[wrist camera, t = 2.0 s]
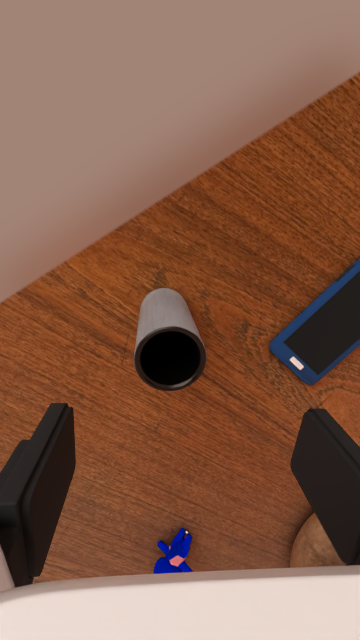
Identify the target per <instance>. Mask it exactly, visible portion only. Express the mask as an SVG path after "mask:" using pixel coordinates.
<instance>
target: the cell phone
mask: <svg viewBox="0 0 360 640" xmlns="http://www.w3.org/2000/svg"><path fill="white" fill-rule="evenodd" d="M359 345H360V258H359V259H358V260H357V261H356V262H355V263H354V264H353V265H351V266H350V267H349V268H348V269H347V270H346V271H345V272H344V273H343V274H342V275H341V276H340V277H339V278H338V279H337V280H336V281H335V282H333V283H332V284H331V285H330V286H329V287H328V288H327V289H326V290H325V291H324V292H323V293H322V294H321V295H320V296H319V297H318V298H317V299H316V300H314V301H313V302H312V303H311V304H310V305H309V306H308V307H307V308H306V309H305V310H304V311H303V312H302V313H301V314H300V315H299V316H298V317H296V318H295V319H294V320H293V321H292V322H291V323H290V324H289V325H288V326H287V327H286V328H285V329H284V330H283V331H282V332H281V333H280V334H278V335H277V336H276V337H275V338H274V339H273V341H272V342H271V343H270V344H269V348H270V350H271V351H272V353H273V354H274V355H275V356H276V357H277V358H278V359H279V360H281V361H282V362H283V363H284V364H285V365H286V366H287V367H288V368H289V369H290V370H291V371H292V372H294V373H295V374H296V375H297V376H298V377H299V378H300V379H301V380H302V381H303V382H305V383H306V384H308V385H314V384H315V383H316V382H317V381H319V380H320V379H321V378H322V377H323V376H325V375H326V374H327V373H328V372H329V371H330V370H331V369H333V368H334V367H335V366H336V365H337V364H338V363H339V362H341V361H342V360H343V359H344V358H345V357H346V356H347V355H349V354H350V353H351V352H352V351H353V350H354V349H355V348H357V347H358V346H359Z"/></svg>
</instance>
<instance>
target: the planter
mask: <svg viewBox="0 0 360 640" xmlns="http://www.w3.org/2000/svg"><path fill="white" fill-rule="evenodd" d="M206 358H207V356H206V349H205V346H204V344H203V341H202V339H201V337H200V334H199V332H198V330H197V327H196V325H195V322H194V320H193V318H192V315H191V313H190V311H189V308H188V306H187V304H186V302H185V300H184V298H183V297H182V296H181V295H180V294H179V293H178V292H176V291H174V290H172V289H168V288H160V289H156V290H154V291H152V292H150V293H149V294H148V295H147V296H146V297H145V298H144V300H143V302H142V304H141V308H140V315H139V322H138V330H137V338H136V345H135V353H134V365H135V369H136V371H137V373H138V375H139V377H140V378H141V379H142V380H143V381H144V382H145V383H146V384H148V385H149V386H151V387H153V388H155V389H158V390H163V391H175V390H180V389H183V388H185V387H187V386H189V385H191V384H192V383H194V382H195V381H196V380H197V379H198V378H199V377H200V375H201V374H202V372H203V370H204V368H205V365H206Z"/></svg>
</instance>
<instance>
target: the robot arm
mask: <svg viewBox="0 0 360 640" xmlns="http://www.w3.org/2000/svg"><path fill="white" fill-rule="evenodd" d="M75 464H76V459H75V438H74V416H73V408H72V407H68V404H67V403H51V404H50V406H49V408H48V409H47V411H46V413H45V415H44V416H43V418H42V420H41V421H40V423H39V425H38V427H37V428H36V430H35V432H34V434H33V435H32V437H31V439H30V440H22V441H20V443H19V444H18V445H17V447H16V449H15V450H14V452H13V453H12V455H11V457H10V458H9V460H8V461H7V463H6V465H5V466H4V468H3V470H2V471H1V473H0V640H360V447H359V446H358V445H357V444H356V443H355V442H354V441H353V440H352V438H351V437H350V436H349V435H348V434H347V433H346V432H345V431H344V430H343V428H342V427H341V426H340V425H339V424H338V423H337V422H336V421H335V420H334V418H333V417H332V416H331V415H330V414H329V413H328V412H327V411H326V410H325V409H309V410H308V411H307V412H305V413H304V415H303V419H302V422H301V426H300V430H299V433H298V437H297V440H296V444H295V448H294V451H293V455H292V458H291V470H292V472H293V474H294V476H295V478H296V479H297V481H298V483H299V485H300V487H301V489H302V490H303V492H304V494H305V496H306V498H307V499H308V501H309V503H310V505H311V507H312V509H313V510H314V512H315V514H316V516H317V518H318V520H319V521H320V523H321V525H322V527H323V529H324V531H325V532H326V534H327V536H328V538H329V540H330V542H331V543H332V545H333V547H334V549H335V551H336V553H337V554H338V556H339V558H340V559H341V561H342V562H343V563H346V564H347V566H324V567H296V568H271V569H247V570H224V571H202V572H181V573H161V574H141V575H120V576H106V577H91V578H77V579H64V580H56V581H48V582H40V583H34V584H32V581H33V578H34V577H37V576H40V574H41V572H42V569H43V566H44V563H45V560H46V557H47V554H48V551H49V548H50V545H51V542H52V539H53V535H54V532H55V529H56V526H57V523H58V520H59V517H60V514H61V511H62V508H63V505H64V502H65V499H66V495H67V492H68V489H69V486H70V483H71V480H72V477H73V474H74V470H75Z"/></svg>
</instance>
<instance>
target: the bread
mask: <svg viewBox="0 0 360 640" xmlns="http://www.w3.org/2000/svg"><path fill="white" fill-rule="evenodd" d="M324 566H347V564H346V563H343V562H342V561H341V559H340V558H339V556H338V554H337V553H336V551H335V549H334V547H333V545H332V543H331V542H330V540H329V538H328V536H327V534H326V532H325V531H324V529H323V527H322V525H321V523H320V521H319V520H318V518H317V516H316V514H315V512H314V513H313V514H312V515H311V516H310V517H309V518H308V519H307V520H306V522H305V523H304V524H303V526H302V527H301V529H300V531H299V533H298V535H297V537H296V539H295V542H294V544H293V547H292V552H291V558H290V568H296V567H324Z"/></svg>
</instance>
